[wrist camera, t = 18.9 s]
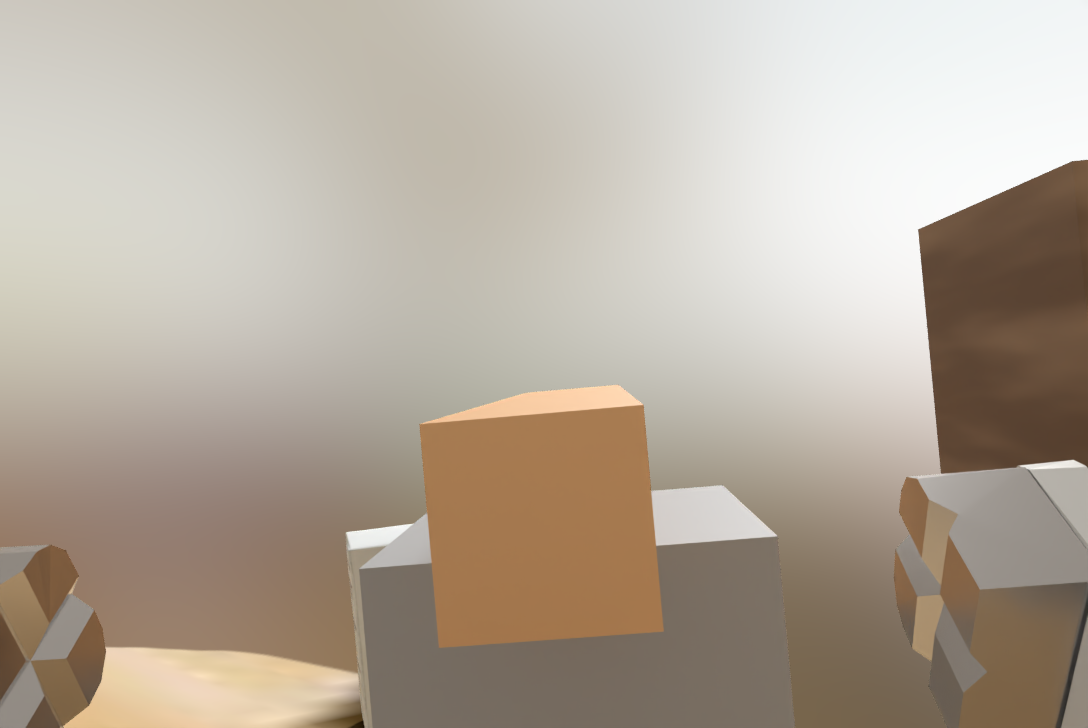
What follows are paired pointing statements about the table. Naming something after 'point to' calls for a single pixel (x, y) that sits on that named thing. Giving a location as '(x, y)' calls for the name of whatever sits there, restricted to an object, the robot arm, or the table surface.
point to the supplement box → (359, 553)
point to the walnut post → (1011, 325)
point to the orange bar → (542, 519)
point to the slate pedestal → (598, 640)
